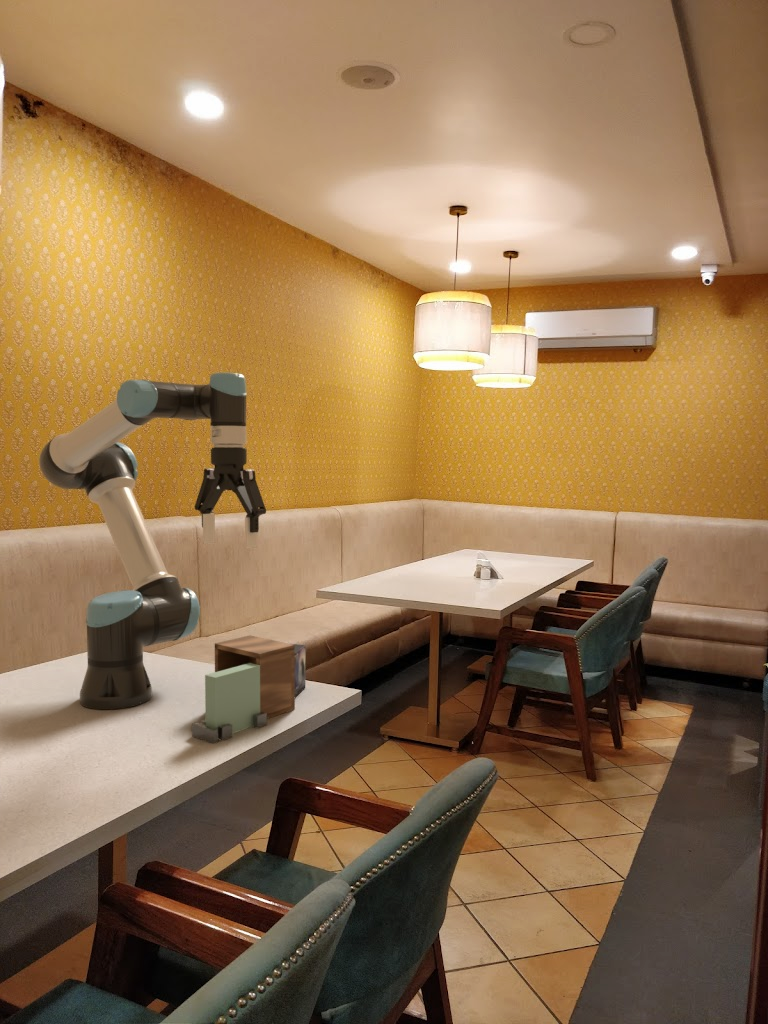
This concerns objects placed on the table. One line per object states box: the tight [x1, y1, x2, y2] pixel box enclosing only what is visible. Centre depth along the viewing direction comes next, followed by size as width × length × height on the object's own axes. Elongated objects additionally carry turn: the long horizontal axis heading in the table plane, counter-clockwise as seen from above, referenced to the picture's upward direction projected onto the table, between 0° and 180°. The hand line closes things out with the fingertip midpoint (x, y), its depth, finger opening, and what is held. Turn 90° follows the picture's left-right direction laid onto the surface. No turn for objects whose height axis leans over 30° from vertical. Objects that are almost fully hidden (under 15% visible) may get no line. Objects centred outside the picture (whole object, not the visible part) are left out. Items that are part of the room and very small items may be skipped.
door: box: [204, 663, 260, 734], centre depth 160 cm, size 3×12×12 cm, turn 142°
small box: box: [292, 643, 307, 698], centre depth 184 cm, size 11×6×10 cm, turn 168°
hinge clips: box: [191, 712, 268, 745], centre depth 160 cm, size 6×14×2 cm, turn 142°
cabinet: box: [214, 634, 296, 720], centre depth 173 cm, size 14×10×14 cm
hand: (229, 545), depth 175 cm, fingers open, 13 cm apart
